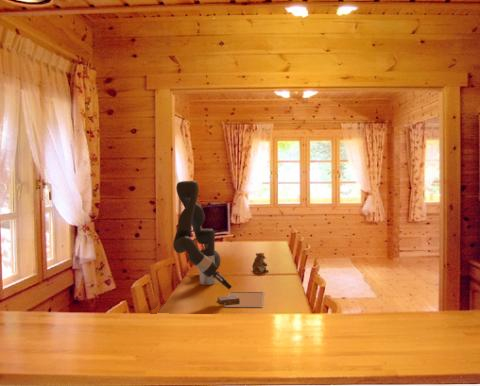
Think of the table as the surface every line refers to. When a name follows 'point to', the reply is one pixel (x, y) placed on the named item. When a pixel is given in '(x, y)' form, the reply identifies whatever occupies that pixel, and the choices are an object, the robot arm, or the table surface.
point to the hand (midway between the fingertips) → (230, 287)
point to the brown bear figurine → (259, 264)
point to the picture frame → (246, 300)
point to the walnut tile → (228, 299)
